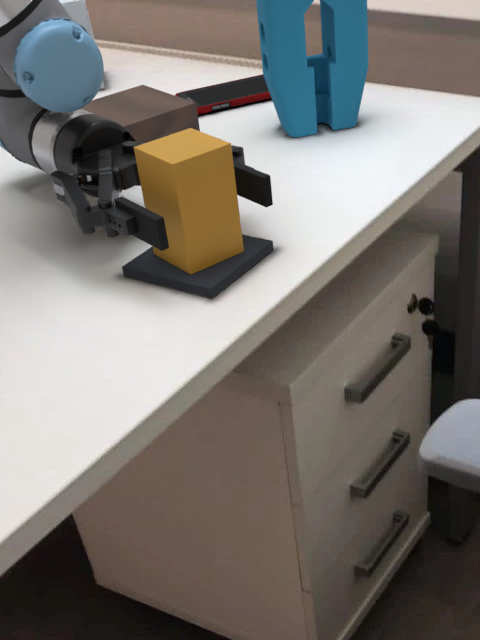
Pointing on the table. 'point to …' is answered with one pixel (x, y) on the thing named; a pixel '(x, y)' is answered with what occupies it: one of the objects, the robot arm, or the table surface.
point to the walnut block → (147, 112)
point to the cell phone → (227, 94)
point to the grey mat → (202, 281)
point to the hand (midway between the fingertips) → (217, 212)
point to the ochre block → (192, 197)
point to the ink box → (79, 16)
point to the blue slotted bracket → (314, 63)
